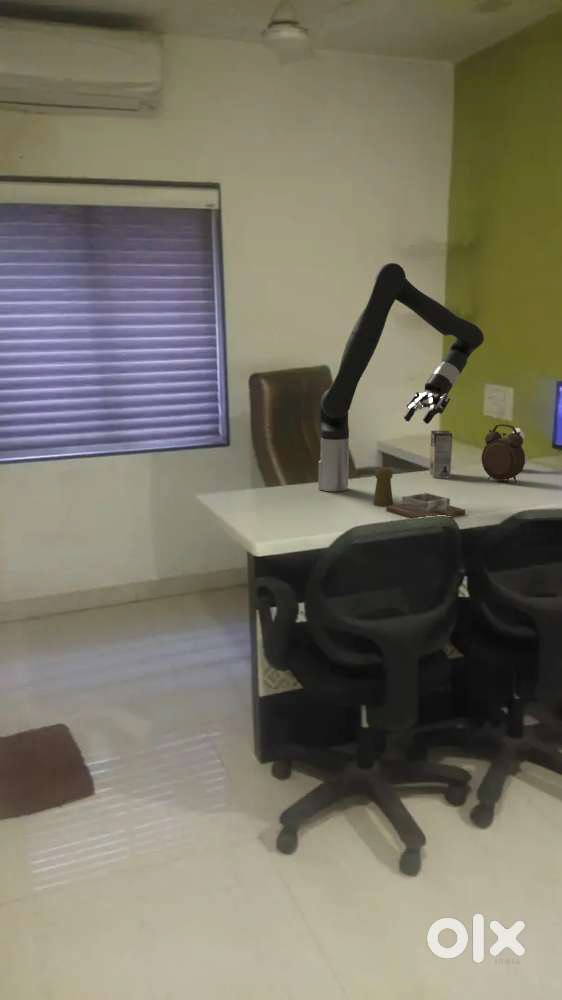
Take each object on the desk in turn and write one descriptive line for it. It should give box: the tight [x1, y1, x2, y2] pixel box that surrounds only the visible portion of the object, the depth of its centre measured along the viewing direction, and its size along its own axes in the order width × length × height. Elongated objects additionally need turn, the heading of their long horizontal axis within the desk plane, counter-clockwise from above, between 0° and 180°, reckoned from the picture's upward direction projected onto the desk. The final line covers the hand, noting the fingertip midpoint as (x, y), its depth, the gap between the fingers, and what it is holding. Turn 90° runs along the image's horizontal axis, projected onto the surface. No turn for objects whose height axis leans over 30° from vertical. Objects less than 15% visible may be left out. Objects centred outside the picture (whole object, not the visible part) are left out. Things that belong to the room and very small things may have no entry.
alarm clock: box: [481, 423, 526, 484], centre depth 265 cm, size 14×7×20 cm, turn 40°
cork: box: [372, 467, 394, 507], centre depth 232 cm, size 6×6×11 cm
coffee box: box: [429, 430, 453, 479], centre depth 275 cm, size 9×6×16 cm
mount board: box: [385, 492, 466, 519], centre depth 222 cm, size 16×16×4 cm
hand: (415, 420), depth 235 cm, fingers open, 8 cm apart
